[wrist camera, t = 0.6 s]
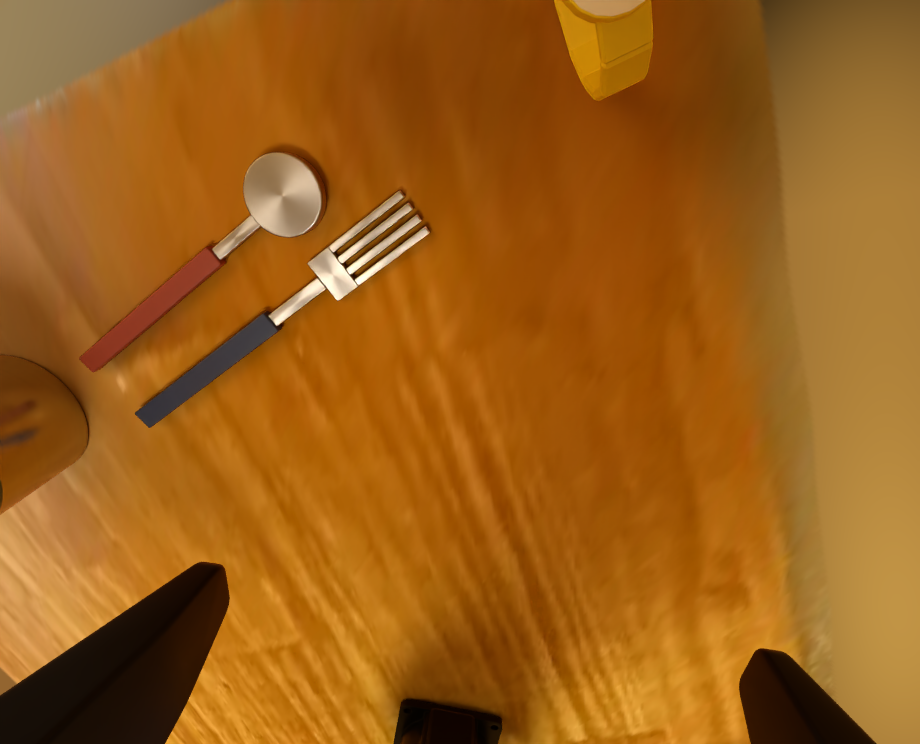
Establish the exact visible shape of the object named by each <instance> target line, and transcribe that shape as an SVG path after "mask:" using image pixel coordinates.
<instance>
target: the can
mask: <svg viewBox="0 0 920 744" xmlns="http://www.w3.org/2000/svg"><path fill="white" fill-rule="evenodd" d="M87 441H88V426H87V422H86V418H85V415H84V412H83V410H82V408H81V406H80V404H79V403H78V401H77V400H76V398H75V396H74V395H73V394H72V393H71V391H70V390H69V389H68V388H67V387H66V386H65V385H64V384H63V383H62V382H61V381H60V380H59V379H58V378H57V377H55V376H54V375H53V374H51V373H50V372H49V371H47V370H46V369H44V368H42V367H40V366H39V365H37V364H35V363H32V362H30V361H28V360H25V359H22V358H18V357H14V356H8V355H0V515H1V514H2V513H4V512H5V511H6V510H8V509H9V508H11V507H12V506H14V505H15V504H16V503H18V502H19V501H21V500H22V499H23V498H25V497H26V496H28V495H29V494H31V493H32V492H33V491H35V490H36V489H38V488H39V487H41V486H42V485H43V484H45V483H46V482H48V481H49V480H50V479H52V478H53V477H55V476H56V475H58V474H59V473H60V472H62V471H63V470H65V469H66V468H68V467H69V466H70V465H72V464H73V463H75V462H76V461H77V460H78V459H79V458H80V457H81V455H82V454H83V452H84V450H85V448H86V445H87Z"/></svg>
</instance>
